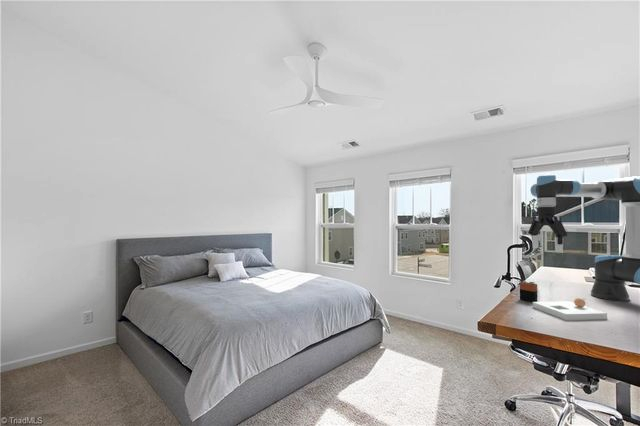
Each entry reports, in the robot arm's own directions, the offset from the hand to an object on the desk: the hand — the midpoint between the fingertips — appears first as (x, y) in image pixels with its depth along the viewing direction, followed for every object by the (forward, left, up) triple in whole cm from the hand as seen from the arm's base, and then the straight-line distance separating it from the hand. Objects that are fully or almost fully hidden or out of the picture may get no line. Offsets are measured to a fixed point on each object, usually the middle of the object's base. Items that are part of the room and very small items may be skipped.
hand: (546, 249), depth 146 cm
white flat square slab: (-2, +10, -28) cm, 30 cm away
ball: (-8, +10, -23) cm, 26 cm away
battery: (+1, -10, -28) cm, 30 cm away
